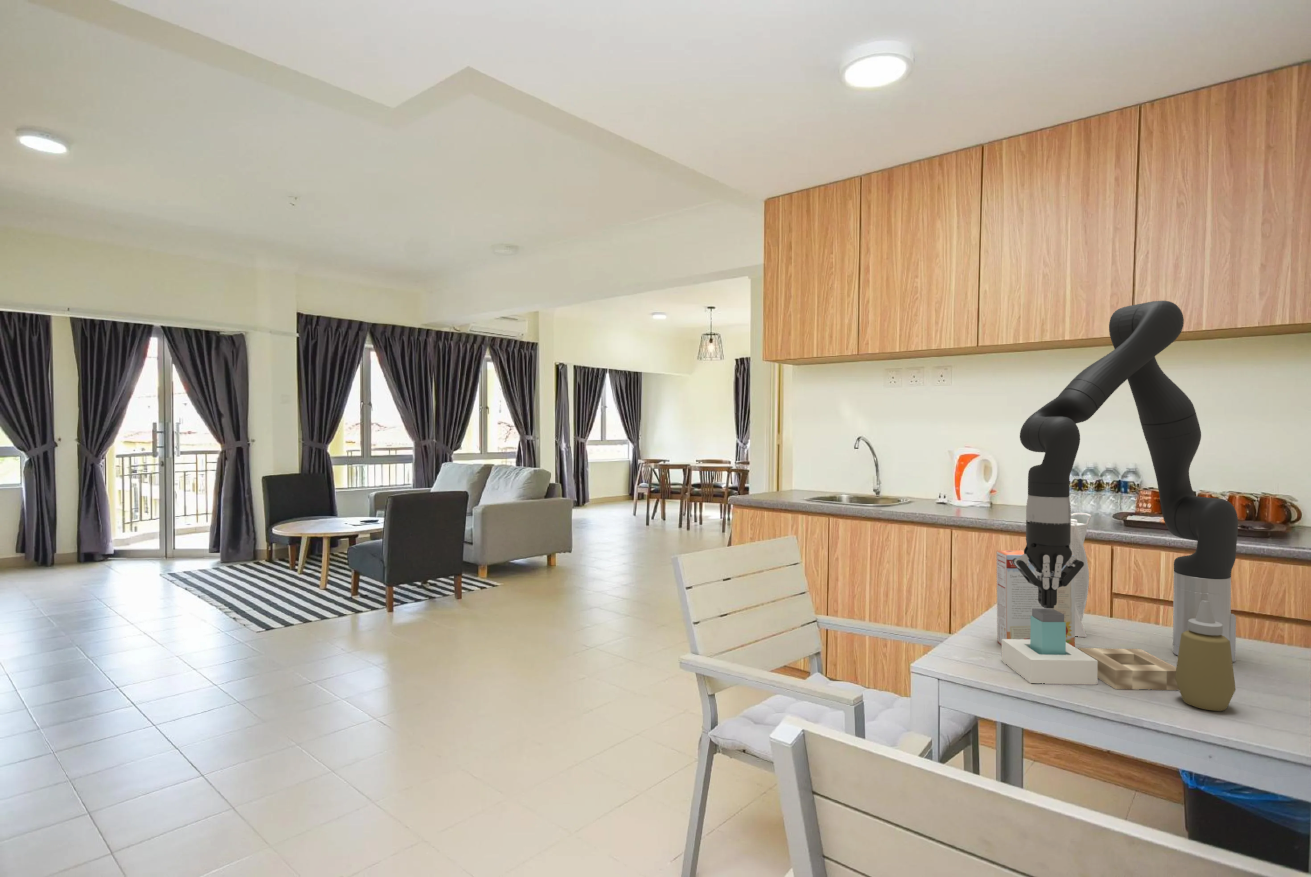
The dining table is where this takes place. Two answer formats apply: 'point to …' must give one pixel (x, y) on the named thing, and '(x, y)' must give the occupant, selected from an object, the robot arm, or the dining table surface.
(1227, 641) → the squeeze bottle
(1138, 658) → the wooden square frame
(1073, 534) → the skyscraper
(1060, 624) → the plug
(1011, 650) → the port block
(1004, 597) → the cracker box
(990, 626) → the dining table surface
